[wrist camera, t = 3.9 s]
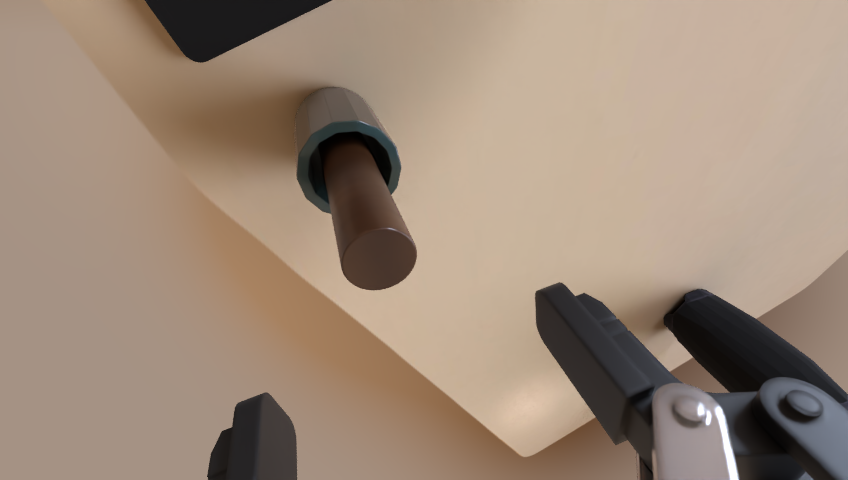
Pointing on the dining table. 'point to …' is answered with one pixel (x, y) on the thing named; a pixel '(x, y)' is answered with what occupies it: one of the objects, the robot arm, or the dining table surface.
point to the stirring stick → (364, 215)
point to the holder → (331, 116)
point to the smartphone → (223, 22)
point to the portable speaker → (741, 347)
